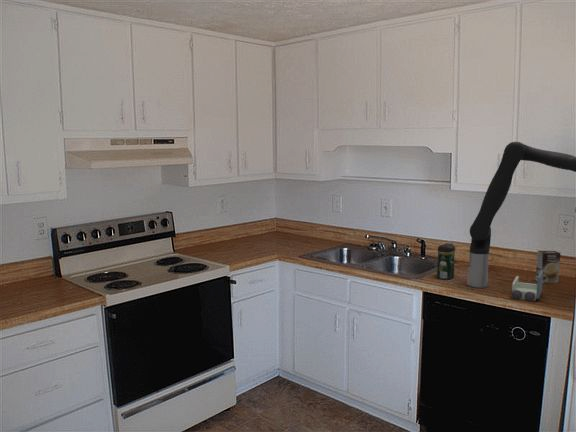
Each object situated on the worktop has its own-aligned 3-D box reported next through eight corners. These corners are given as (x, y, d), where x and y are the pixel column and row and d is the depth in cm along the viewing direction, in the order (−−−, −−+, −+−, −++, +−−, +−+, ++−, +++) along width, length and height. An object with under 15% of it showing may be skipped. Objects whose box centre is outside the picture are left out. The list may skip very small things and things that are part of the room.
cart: (511, 298, 243) (511, 284, 242) (515, 289, 258) (516, 275, 257) (534, 302, 238) (535, 287, 237) (538, 292, 253) (539, 278, 252)
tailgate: (536, 299, 239) (537, 277, 238) (539, 290, 252) (540, 269, 251) (538, 299, 239) (540, 277, 237) (541, 291, 252) (543, 270, 250)
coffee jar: (442, 274, 286) (443, 241, 284) (455, 277, 281) (457, 243, 279) (434, 278, 279) (435, 244, 276) (448, 280, 274) (449, 246, 271)
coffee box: (541, 283, 268) (543, 253, 266) (534, 280, 275) (537, 250, 272) (558, 283, 268) (560, 253, 266) (552, 279, 275) (554, 250, 272)
